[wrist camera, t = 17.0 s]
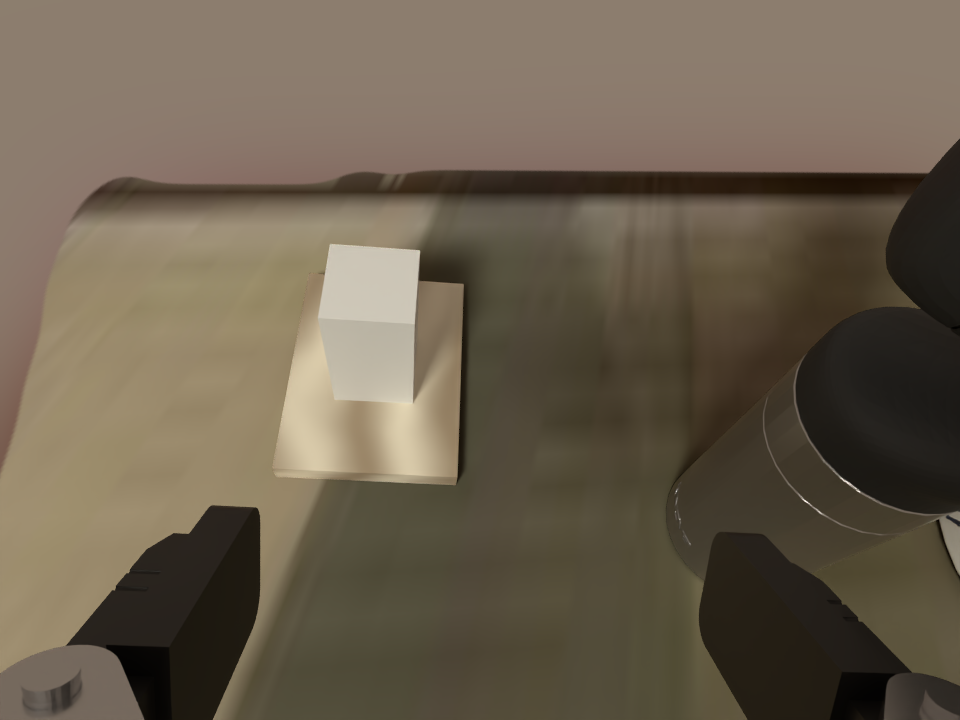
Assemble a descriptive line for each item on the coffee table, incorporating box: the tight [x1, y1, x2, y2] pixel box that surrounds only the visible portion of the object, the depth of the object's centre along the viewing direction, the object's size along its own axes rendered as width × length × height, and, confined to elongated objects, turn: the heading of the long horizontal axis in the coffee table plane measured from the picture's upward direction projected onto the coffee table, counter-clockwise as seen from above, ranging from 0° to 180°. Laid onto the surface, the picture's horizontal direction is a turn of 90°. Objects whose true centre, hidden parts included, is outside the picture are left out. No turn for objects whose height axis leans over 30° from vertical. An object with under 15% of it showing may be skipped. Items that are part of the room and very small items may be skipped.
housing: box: [318, 244, 420, 404], centre depth 42 cm, size 5×5×10 cm
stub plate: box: [272, 273, 464, 485], centre depth 45 cm, size 12×16×6 cm
